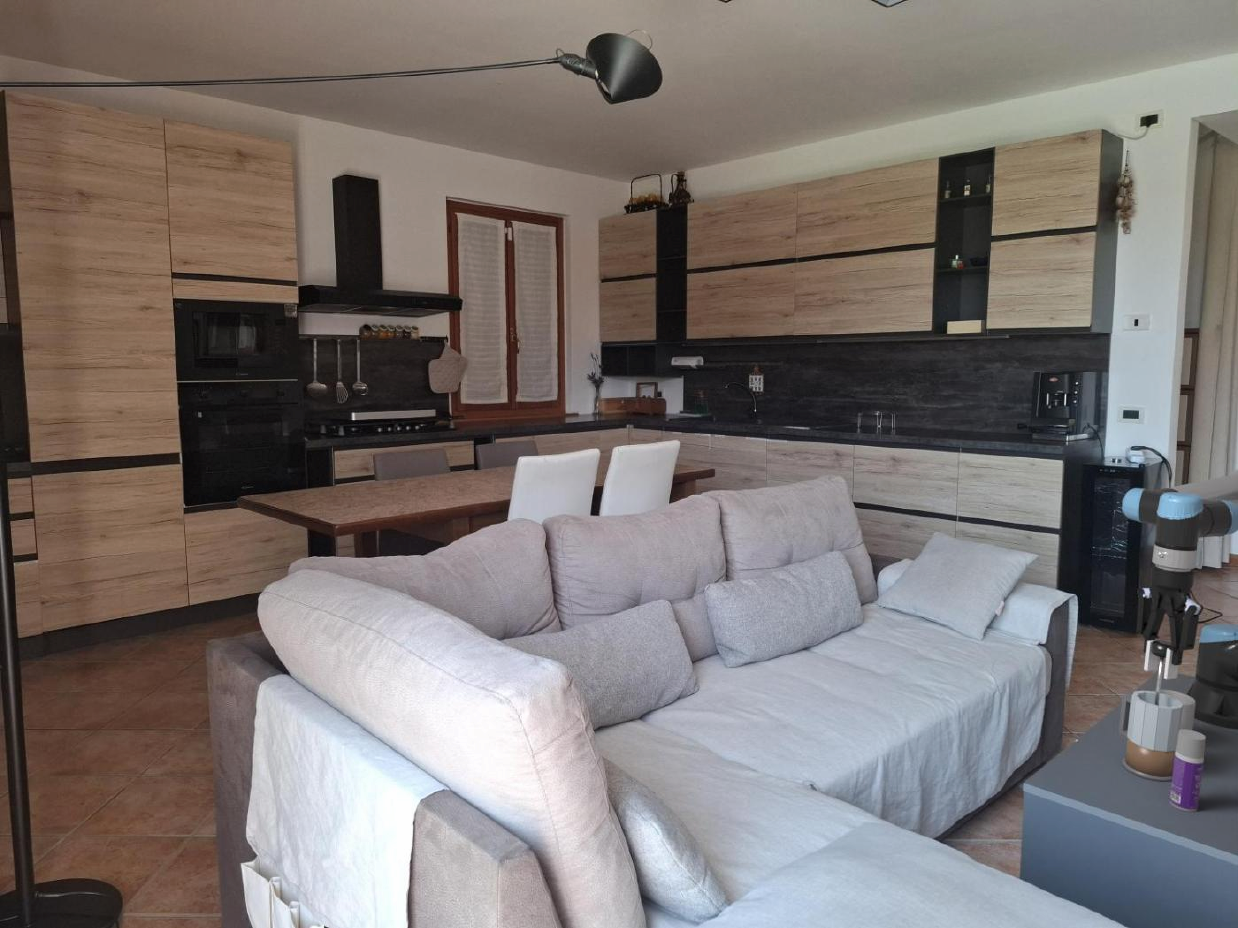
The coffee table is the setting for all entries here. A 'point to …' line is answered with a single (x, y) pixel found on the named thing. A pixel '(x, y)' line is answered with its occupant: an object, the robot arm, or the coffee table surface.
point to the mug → (1184, 708)
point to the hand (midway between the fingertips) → (1160, 673)
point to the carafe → (1150, 734)
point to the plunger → (1159, 650)
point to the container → (1187, 770)
